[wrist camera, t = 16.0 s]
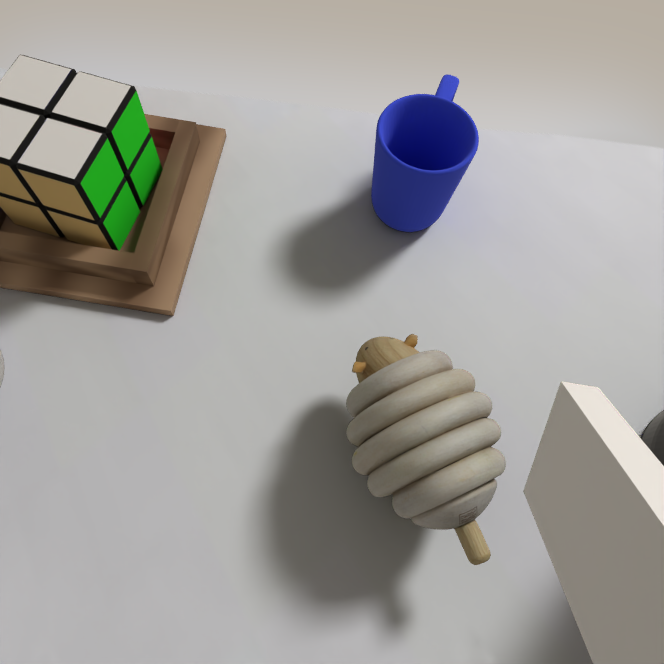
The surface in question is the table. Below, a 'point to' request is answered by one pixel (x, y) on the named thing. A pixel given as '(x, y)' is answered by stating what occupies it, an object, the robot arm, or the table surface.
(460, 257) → the table surface
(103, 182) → the puzzle cube
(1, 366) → the white pitcher
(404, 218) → the mug
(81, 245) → the docking cradle
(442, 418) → the toy sheep
